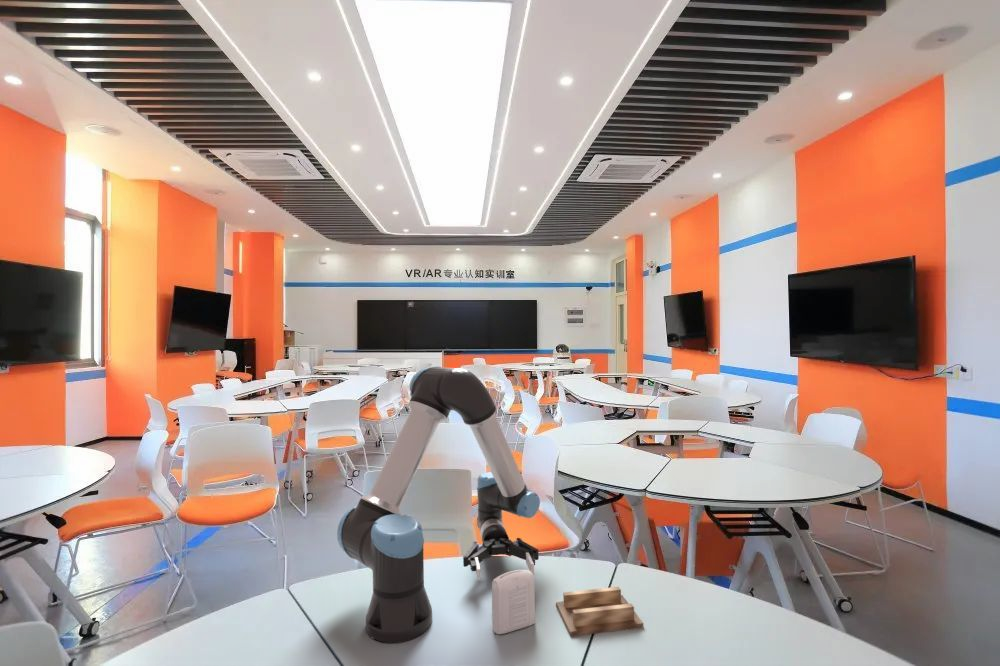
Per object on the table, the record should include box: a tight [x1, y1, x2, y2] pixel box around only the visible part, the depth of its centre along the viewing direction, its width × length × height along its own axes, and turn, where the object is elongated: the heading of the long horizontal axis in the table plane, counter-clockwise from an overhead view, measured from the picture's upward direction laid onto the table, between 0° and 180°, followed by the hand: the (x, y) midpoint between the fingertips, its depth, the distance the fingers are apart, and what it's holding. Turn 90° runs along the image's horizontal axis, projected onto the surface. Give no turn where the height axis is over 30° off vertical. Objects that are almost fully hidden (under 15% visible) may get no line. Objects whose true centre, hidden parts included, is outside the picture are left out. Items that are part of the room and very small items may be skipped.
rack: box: [555, 586, 644, 637], centre depth 114 cm, size 17×12×4 cm
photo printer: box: [491, 569, 536, 635], centre depth 111 cm, size 10×4×12 cm, turn 116°
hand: (506, 572), depth 122 cm, fingers open, 13 cm apart
